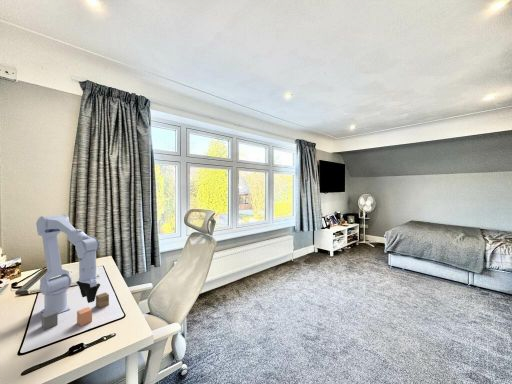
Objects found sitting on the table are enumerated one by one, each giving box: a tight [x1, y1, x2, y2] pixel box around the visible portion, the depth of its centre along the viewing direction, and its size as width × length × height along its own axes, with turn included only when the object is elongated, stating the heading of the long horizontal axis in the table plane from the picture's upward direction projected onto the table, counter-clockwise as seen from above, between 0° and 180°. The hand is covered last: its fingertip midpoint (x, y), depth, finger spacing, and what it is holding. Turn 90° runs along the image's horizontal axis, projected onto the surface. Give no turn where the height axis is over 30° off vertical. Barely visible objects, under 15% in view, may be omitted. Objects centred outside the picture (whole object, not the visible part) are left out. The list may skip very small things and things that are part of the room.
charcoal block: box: [41, 310, 59, 331], centre depth 90 cm, size 4×4×5 cm
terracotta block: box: [76, 306, 93, 327], centre depth 92 cm, size 4×4×5 cm
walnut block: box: [95, 292, 110, 309], centre depth 106 cm, size 4×4×5 cm
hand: (88, 299), depth 93 cm, fingers open, 7 cm apart
